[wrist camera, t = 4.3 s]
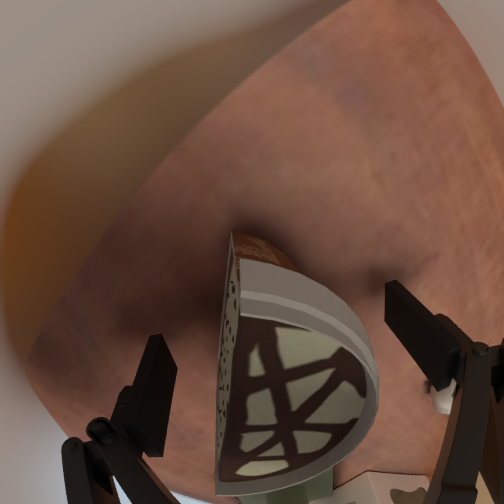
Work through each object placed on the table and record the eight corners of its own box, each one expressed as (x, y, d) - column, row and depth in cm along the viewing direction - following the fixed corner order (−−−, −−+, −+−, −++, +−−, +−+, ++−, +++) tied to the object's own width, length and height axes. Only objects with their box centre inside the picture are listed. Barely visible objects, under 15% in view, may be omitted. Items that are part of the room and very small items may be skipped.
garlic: (418, 403, 24) (439, 437, 19) (426, 370, 22) (452, 407, 17) (461, 381, 24) (483, 410, 19) (471, 346, 22) (499, 377, 17)
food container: (298, 378, 21) (330, 492, 11) (215, 375, 20) (215, 499, 11) (340, 217, 17) (449, 302, 7) (234, 203, 16) (243, 292, 7)
